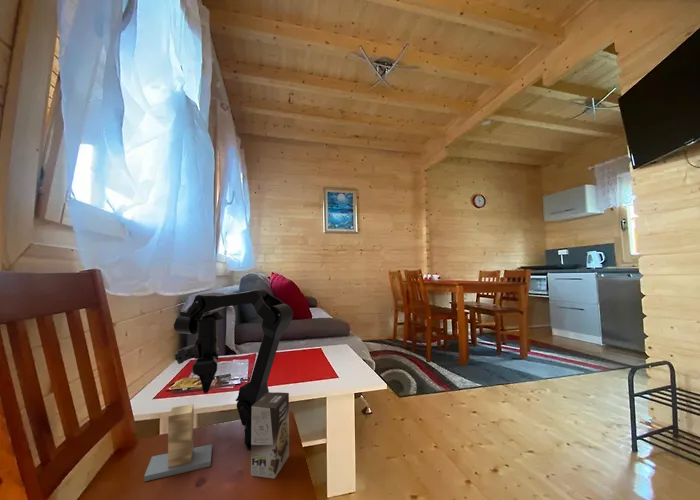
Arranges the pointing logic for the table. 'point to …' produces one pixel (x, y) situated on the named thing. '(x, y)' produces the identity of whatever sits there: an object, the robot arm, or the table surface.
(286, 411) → the coffee box
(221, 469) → the table surface
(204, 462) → the slate board
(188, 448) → the block
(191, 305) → the robot arm
